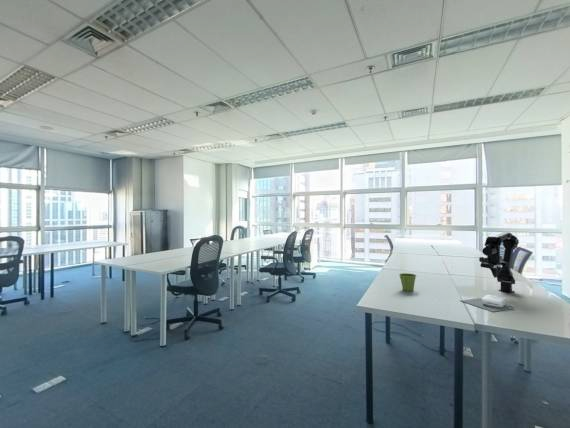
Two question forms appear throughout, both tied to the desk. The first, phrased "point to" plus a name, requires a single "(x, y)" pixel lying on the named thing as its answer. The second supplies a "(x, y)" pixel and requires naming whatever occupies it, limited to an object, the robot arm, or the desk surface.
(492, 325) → the desk surface
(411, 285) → the plant pot
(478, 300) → the mat
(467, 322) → the desk surface
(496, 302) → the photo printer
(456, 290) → the desk surface
